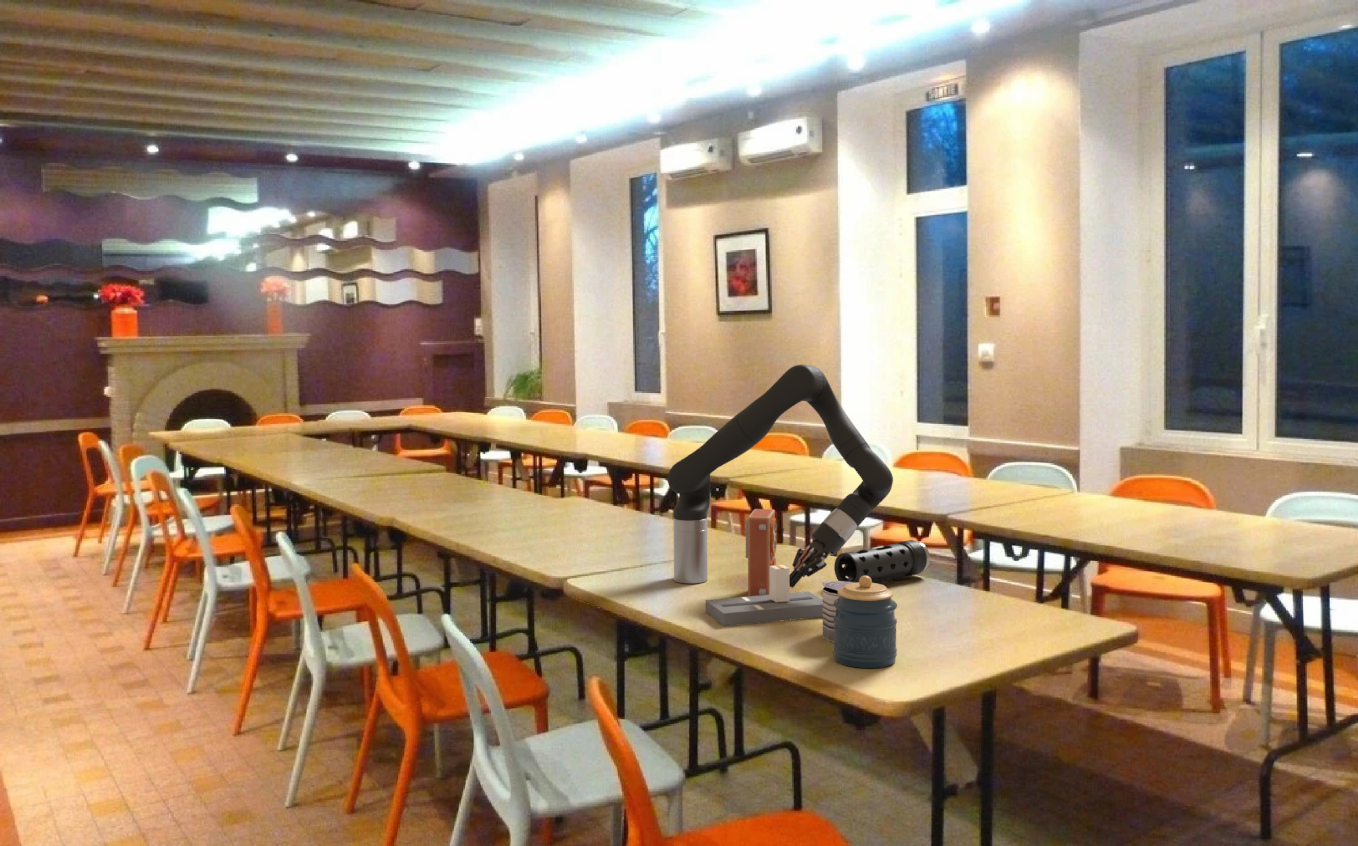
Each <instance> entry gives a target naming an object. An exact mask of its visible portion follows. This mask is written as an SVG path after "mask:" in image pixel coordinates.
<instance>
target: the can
mask: <svg viewBox="0 0 1358 846" xmlns="http://www.w3.org/2000/svg"><path fill="white" fill-rule="evenodd" d="M850 583H855V582H845V581H838V580H832V581H822V586H823V588H822V599H823V617H822V638H823V637H824V638H825V639H824V638H823V639H824V640H826V641H827V640H828V641H827V642H829V641H830V643H833V642H834V616H836V607H835V606H834V604H833V603H834V601H835V600H836V599H838V598H839V596H840V595H838V590H839V589H841V588H843V587H844V586H845V585H847V584H850Z"/></svg>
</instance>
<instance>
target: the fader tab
mask: <svg viewBox="0 0 1358 846" xmlns="http://www.w3.org/2000/svg"><path fill="white" fill-rule="evenodd" d="M789 575H790V567H788V566H786V565H784V564H776V565H774V566H770V599H771V600H773V601H775V602H784V601H789V593H790V586H789Z"/></svg>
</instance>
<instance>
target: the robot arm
mask: <svg viewBox="0 0 1358 846" xmlns="http://www.w3.org/2000/svg"><path fill="white" fill-rule="evenodd" d="M801 402H806V403H808V404H809V406H810V407H812V409H813V410H815V412H816V413H817V414H818V415H819V417H820V419H821V421H822V422H823V424H824V427H825V428H826V431H827V433H828V436H829V439H830V440H831V442H832V444H833V446H834V448H835V449H836V450H837V451H838V453H839V455H840V456H841V457H842V459H843V460H844V462H845V463H846V464H847V465H848V466H849V467H850V468H851V469H854V470H855V472H856V473H857V474H858V476H859V477H860V478H861V480H862V481H861V483H860V484H859V485H858V486H857V487H856V488H855V489H854V491H852V493H848V494H847V495H846V496H845V497H844V498H843V500H841V502H840V503H839V504H838V505H837V506H836V508H835V509H834V510H832V511H831V512H830V513H829V514H828V515H827V516H826V517H825V518H824V520H823V521H822V522H821V523H820V524H819V525H818V526H817V528H815V530H813V532H812V533H811V536H810V537H811V539H812V542H811V543H809V544H808V545H807V546H806V547H805V549H802V548H801V547H800V548H799V549H797V552H796V555H795V557H794V559H793V562H792V567H793V570H792V571H791V573H789V588H794V587H795V586H796V585H797V584H798V583H799V581H800V580H802V578H804V577H811V576H813V575H814V574H815V573H817V572H819V571H821V570H823V569H824V568H826V567H827V565H828V564H827V562H825V561H826V559H827V558H828V556H829V555H830V556H836V554H837V553H838V552H839V551H840V550H841V549H842V548H843V547H844V546H845V544H846V543H847V542H848V541H849V539H850V538H851V537H852V536H853V535H854V533H855V531H856V530H857V529H858V528H859V526H860V525H861V524H862V523H863V522H864V521H865V519H866V518H868V516H869V514H870V513H871V512H872V511H873V510H874V509H875V508H877V506H878V505H880V504H881V503H882V502H883V500H885V498H887V496H888V495H889V494H890V492H891V490H892V487H893V483H894V476H893V473H892V472H891V469H890V468H889V467H888V466H887V464H886V462H884V461H883V459H881V458H880V456H879V455H878V454H877V453H875V452H874V451H873V449H872V448H871V446H870V444H868V442H867V441H866V439H865V438H864V436H862V434H861V432H860V431H859V430H858V429H857V427H856V426H855V425H854V423H853V422H852V420H851V419H850V418H849V416H848V415H847V413H846V411H845V410H844V409H843V407H842V405H841V403H840V402H839V399H838V398H837V396H836V394H835V393H834V390H833V388H832V387H831V385H830V382H829V381H828V379H827V377H826V375H825V373H824V372H823V371H822V370H821V369H820V368H818V367H817V366H815V365H814V366H813V365H811V364H809V365H807V364H796V365H793V366H792V367H790V368H789V369H787V370H786V371H785V372H784V373H783V374H782V375H781V376H780V377H779V378H778V379H777V380H776V381H775V382H774V383H773V385H772V386H771V387H769V388H768V389H767V391H766V392H764V393H763V394H762V395H761V396H758V398H757V399H754V401H752V402H751V403H749V404H748V405H747V406H746V407H745V408H744V409H742V410H741V411H739V412H738V413H737V414H736V415H735V416H733V417H732V418H731V419H729V420H728V422H726V423H725V424H724V425H723V426H722V427H721V428H719V430H717V431H716V432H715V433H714V434H712V436H711V437H710V438H708V439H707V440H706V441H705V442H704V443H703V445H701V446H700V447H698V448H697V449H696V450H694V451H693V452H692V453H690V454H688V455H687V456H685V457H684V458H682V459H680V460H679V461H677V462H676V463H674V464H673V465H672V466H671V468H670V470H669V472H668V475H667V483H668V487H669V488H670V489H671V491H673V492H674V493H676V494H679V496H678V501H677V503H676V504H675V506H674V508H673V509H672V510H673V513H672V516H673V517H672V519H673V525H672V526H673V581H674V582H675V583H676V582H677V583H680V584H701V583H705V582H707V581H708V579H709V577H708V575H709V574H708V572H709V571H708V567H709V565H708V510H709V508H710V503H711V474H712V473H713V472H714V471H716V470H717V469H718V468H720V467H722V466H724V465H726V464H727V463H729V462H732V461H734V460H735V459H737V458H739V457H740V456H742V455H743V454H745V453H746V452H748V451H749V450H751V449H753V447H754V446H756V445H757V444H758V443H760V441H762V440H763V439H764V438H765V437H766V436H767V435H768V434H769V432H770V431H771V429H772V428H773V426H774V425H775V423H776V422H777V420H778V419H779V418H780V417H781V416H782V415H784V413H786V412H787V411H788V410H790V409H791V408H793V407H794V406H796V405H798V404H799V403H801Z"/></svg>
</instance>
